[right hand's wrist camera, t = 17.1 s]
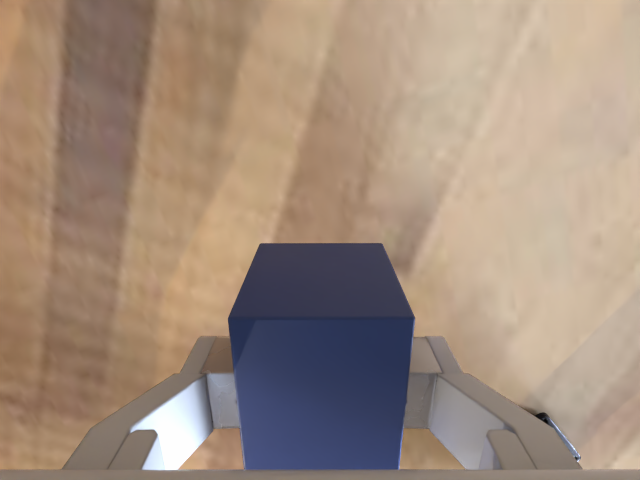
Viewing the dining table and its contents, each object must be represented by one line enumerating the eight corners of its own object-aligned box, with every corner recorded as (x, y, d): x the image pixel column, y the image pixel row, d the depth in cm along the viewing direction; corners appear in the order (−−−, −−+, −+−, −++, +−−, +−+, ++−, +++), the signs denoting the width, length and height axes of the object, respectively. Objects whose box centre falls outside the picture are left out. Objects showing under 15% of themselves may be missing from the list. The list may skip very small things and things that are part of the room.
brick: (382, 242, 12) (416, 317, 8) (374, 370, 14) (397, 486, 10) (259, 242, 12) (227, 317, 8) (267, 370, 14) (245, 486, 10)
